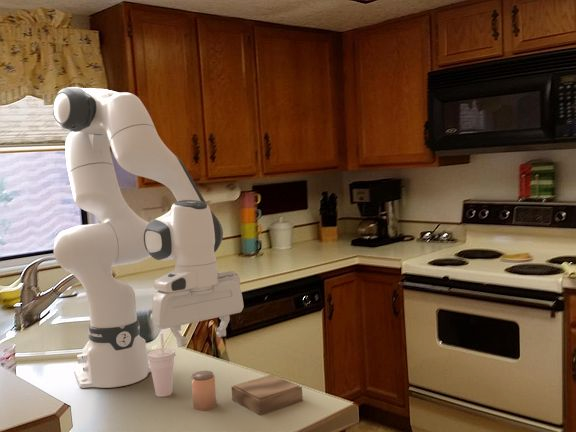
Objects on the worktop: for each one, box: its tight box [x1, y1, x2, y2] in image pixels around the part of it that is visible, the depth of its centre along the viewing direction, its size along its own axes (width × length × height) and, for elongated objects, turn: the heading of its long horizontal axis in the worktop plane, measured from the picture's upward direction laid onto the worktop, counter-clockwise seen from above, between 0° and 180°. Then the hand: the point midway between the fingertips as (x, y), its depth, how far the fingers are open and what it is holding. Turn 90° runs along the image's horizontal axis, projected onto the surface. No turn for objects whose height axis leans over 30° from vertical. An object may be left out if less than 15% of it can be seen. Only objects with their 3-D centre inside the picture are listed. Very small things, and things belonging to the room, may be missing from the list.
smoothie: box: [147, 333, 177, 398], centre depth 139 cm, size 6×6×14 cm
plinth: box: [231, 374, 303, 416], centre depth 132 cm, size 11×11×3 cm
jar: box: [190, 370, 217, 411], centre depth 131 cm, size 5×5×7 cm
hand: (202, 340), depth 130 cm, fingers open, 8 cm apart
